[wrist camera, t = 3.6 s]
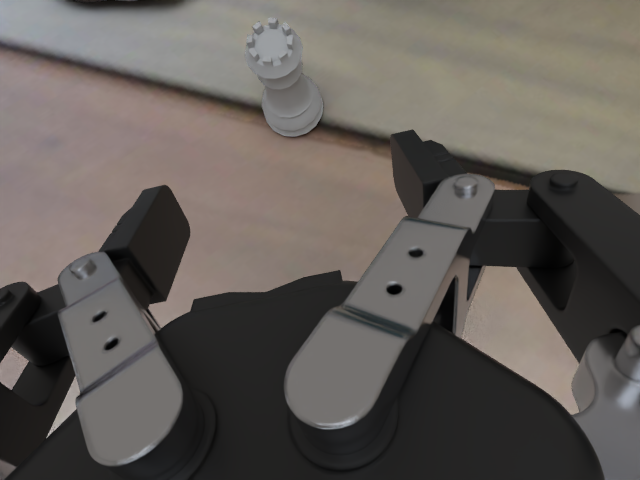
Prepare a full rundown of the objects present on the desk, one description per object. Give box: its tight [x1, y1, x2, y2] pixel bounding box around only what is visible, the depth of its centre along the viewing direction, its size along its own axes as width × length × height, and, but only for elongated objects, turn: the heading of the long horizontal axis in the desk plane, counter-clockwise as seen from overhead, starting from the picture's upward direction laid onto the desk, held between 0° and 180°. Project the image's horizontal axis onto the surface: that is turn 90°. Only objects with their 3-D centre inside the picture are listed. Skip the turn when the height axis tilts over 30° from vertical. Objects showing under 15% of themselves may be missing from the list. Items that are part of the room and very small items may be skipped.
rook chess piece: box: [245, 18, 323, 137], centre depth 23 cm, size 4×4×8 cm
